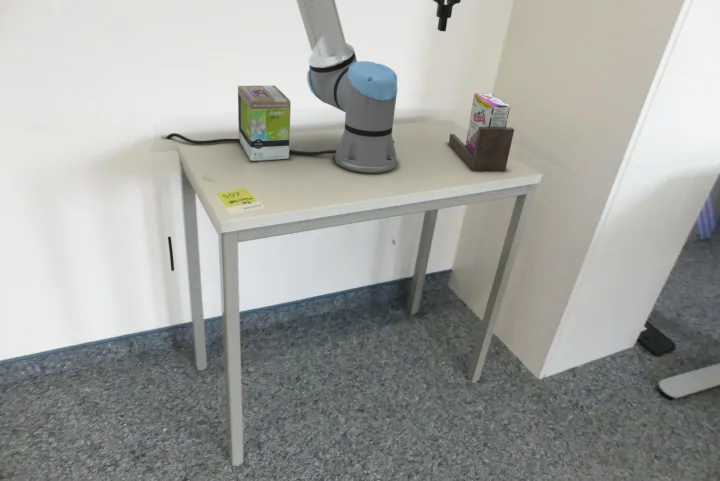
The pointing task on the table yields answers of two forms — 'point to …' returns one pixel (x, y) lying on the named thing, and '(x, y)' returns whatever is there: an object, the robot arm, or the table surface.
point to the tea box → (264, 122)
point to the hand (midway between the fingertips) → (441, 30)
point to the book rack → (486, 149)
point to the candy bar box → (485, 116)
